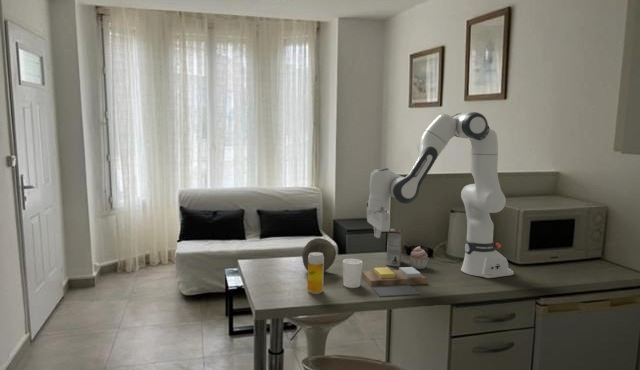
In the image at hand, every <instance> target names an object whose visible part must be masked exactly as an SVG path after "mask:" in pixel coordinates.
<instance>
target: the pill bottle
mask: <svg viewBox="0 0 640 370" xmlns="http://www.w3.org/2000/svg"><path fill="white" fill-rule="evenodd" d="M324 273H325V271H324V256H323V253H320V252H311V253H309V256H308V270H307V291H308V293H309V294H313V295H319V294H321V293H322V292H323V291H324V279H325V278H324Z"/></svg>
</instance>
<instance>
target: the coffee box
mask: <svg viewBox="0 0 640 370" xmlns="http://www.w3.org/2000/svg"><path fill="white" fill-rule="evenodd" d="M402 235H403V228H401V227H400V228H399V227H390V229H389V231H387V235H386V236H387V237H386V238H387V239H386V241H387V242H386V263H385V264H386V266H392V267H400V266H401V256H402V240H403V239H402V238H403V237H402Z"/></svg>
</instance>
